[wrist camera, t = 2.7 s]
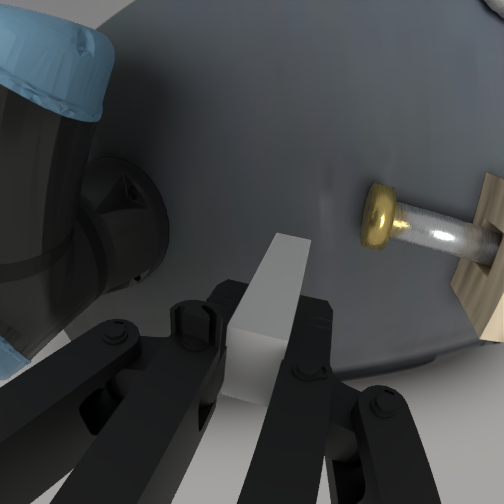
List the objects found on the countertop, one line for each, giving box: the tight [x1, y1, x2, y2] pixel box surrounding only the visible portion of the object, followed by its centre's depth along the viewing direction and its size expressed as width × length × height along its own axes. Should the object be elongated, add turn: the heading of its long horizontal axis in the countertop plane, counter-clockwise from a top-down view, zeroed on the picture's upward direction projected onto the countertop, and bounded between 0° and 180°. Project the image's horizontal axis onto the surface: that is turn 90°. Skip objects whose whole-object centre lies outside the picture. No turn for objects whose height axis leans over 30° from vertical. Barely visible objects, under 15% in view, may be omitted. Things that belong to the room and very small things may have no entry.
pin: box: [360, 183, 504, 266], centre depth 21 cm, size 14×5×5 cm, turn 83°
